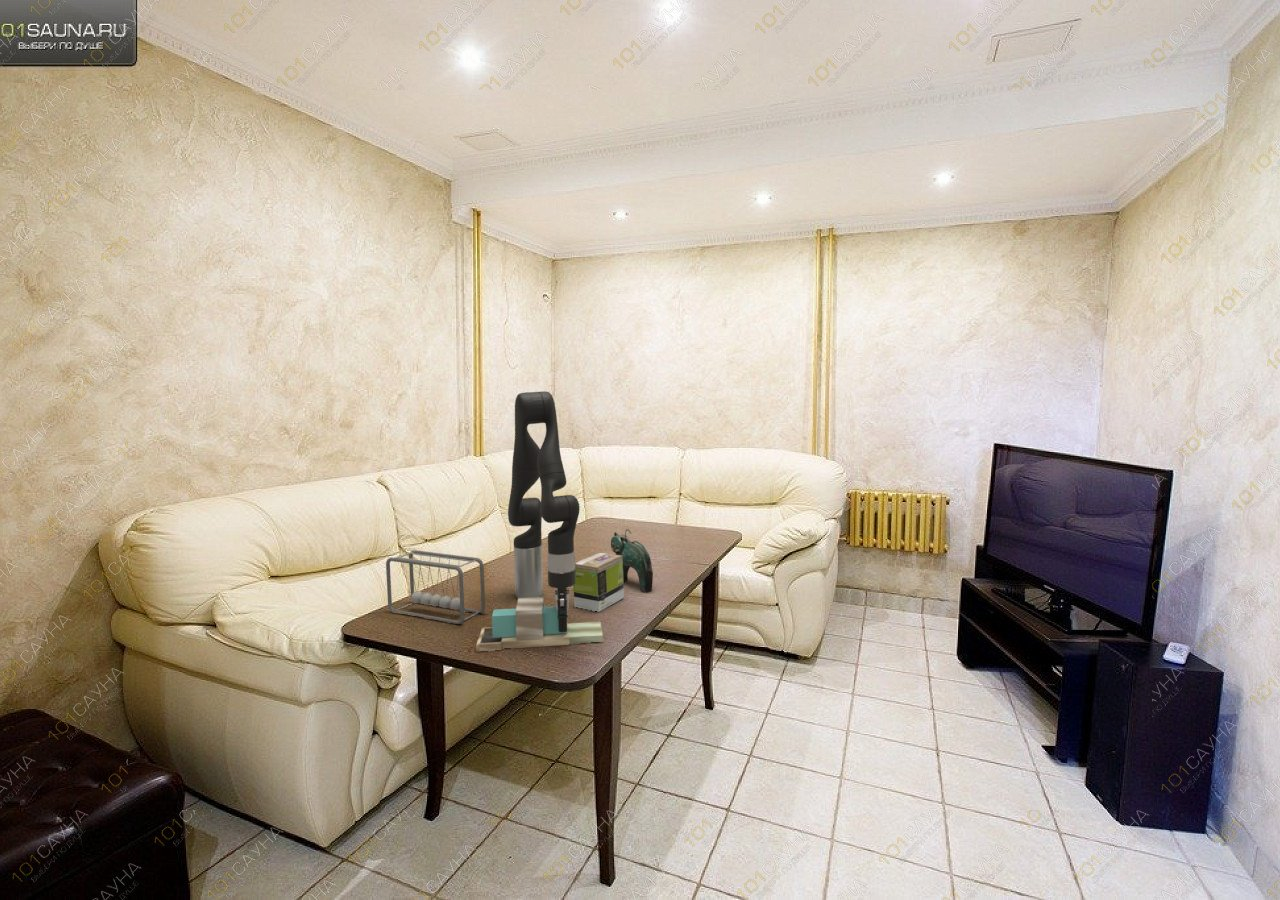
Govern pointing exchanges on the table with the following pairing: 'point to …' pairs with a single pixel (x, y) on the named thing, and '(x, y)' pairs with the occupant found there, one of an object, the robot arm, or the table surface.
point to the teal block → (507, 622)
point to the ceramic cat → (634, 559)
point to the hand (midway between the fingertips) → (562, 627)
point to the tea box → (598, 581)
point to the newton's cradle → (437, 599)
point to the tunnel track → (538, 630)
